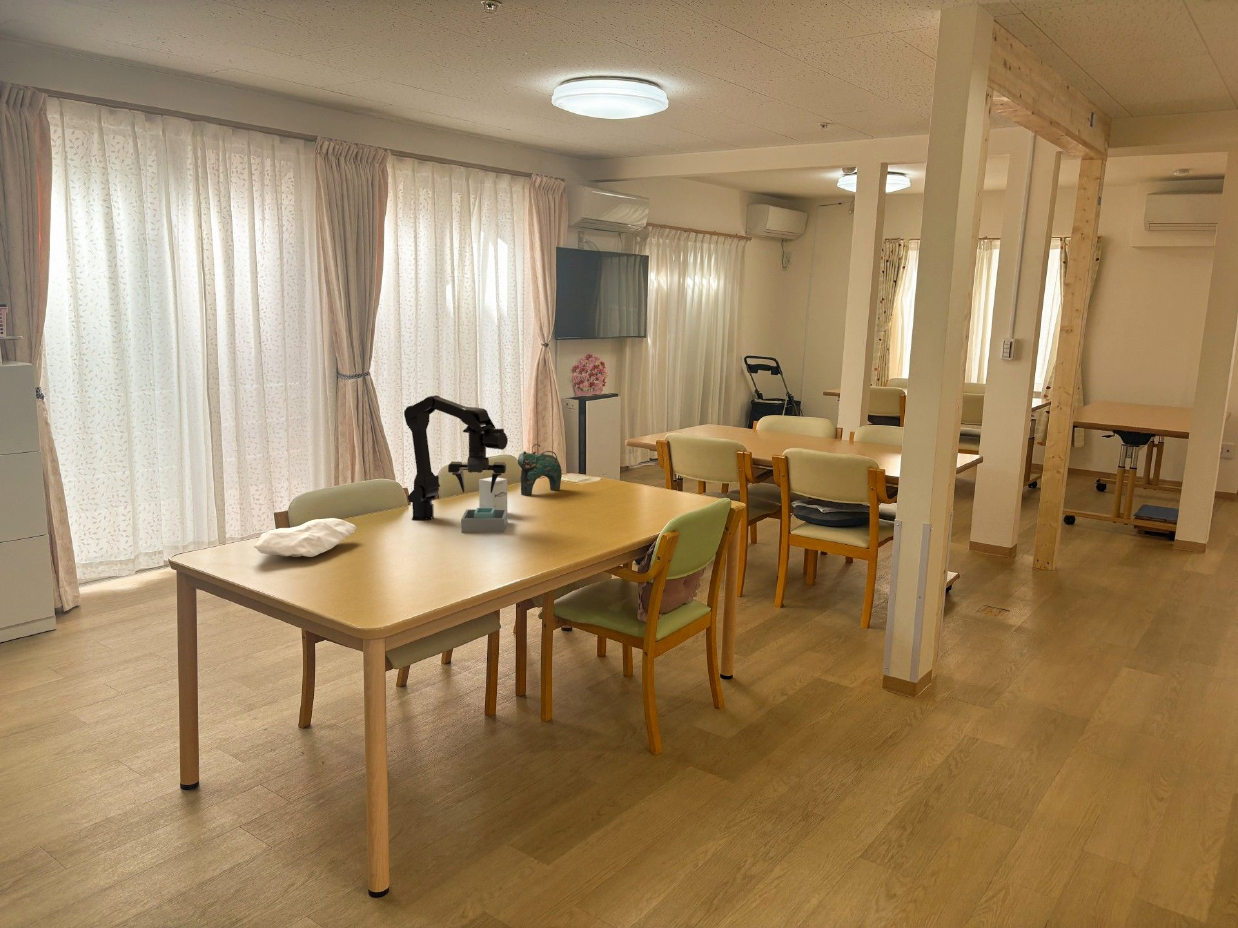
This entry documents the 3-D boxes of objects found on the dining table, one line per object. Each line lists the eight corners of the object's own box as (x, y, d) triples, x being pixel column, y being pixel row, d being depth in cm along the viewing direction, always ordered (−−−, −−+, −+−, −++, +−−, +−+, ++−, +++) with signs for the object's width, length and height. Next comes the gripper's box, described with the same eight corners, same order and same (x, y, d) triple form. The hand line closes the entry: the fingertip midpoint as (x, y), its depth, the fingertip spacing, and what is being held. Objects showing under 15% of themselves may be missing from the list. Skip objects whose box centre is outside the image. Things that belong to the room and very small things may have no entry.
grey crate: (461, 532, 289) (461, 519, 288) (466, 522, 303) (466, 509, 302) (504, 532, 290) (504, 519, 289) (507, 522, 303) (507, 509, 303)
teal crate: (474, 527, 292) (474, 513, 291) (477, 521, 300) (476, 507, 299) (492, 527, 292) (492, 513, 291) (494, 521, 300) (494, 507, 299)
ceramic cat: (524, 497, 343) (523, 446, 340) (514, 494, 348) (514, 444, 344) (564, 490, 356) (564, 441, 353) (554, 488, 361) (554, 440, 357)
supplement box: (493, 516, 311) (493, 481, 309) (478, 513, 315) (478, 479, 313) (508, 513, 317) (507, 478, 314) (493, 510, 321) (493, 476, 319)
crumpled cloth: (225, 554, 255) (225, 525, 253) (320, 528, 285) (322, 502, 283) (279, 579, 245) (281, 549, 242) (373, 549, 274) (375, 522, 272)
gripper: (445, 450, 284) (445, 497, 287) (503, 451, 285) (503, 498, 288) (450, 444, 295) (450, 490, 298) (506, 445, 296) (506, 491, 299)
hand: (477, 492), depth 295 cm, fingers open, 9 cm apart
